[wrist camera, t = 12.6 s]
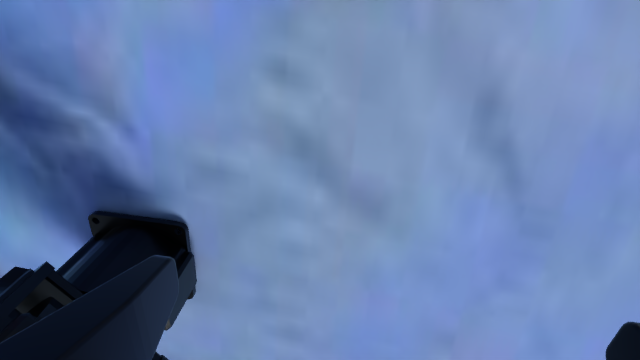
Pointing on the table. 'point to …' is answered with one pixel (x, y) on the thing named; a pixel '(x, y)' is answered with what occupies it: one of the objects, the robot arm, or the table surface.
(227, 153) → the table surface
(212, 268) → the table surface
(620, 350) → the robot arm
